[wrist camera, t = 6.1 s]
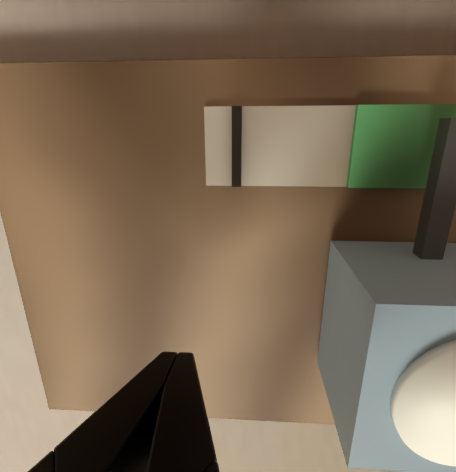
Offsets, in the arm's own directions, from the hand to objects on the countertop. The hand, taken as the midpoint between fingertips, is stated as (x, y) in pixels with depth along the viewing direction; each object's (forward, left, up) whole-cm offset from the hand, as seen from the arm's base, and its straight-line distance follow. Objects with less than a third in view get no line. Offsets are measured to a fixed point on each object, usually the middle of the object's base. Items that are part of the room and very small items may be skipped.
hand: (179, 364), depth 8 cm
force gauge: (+8, +2, -3) cm, 9 cm away
